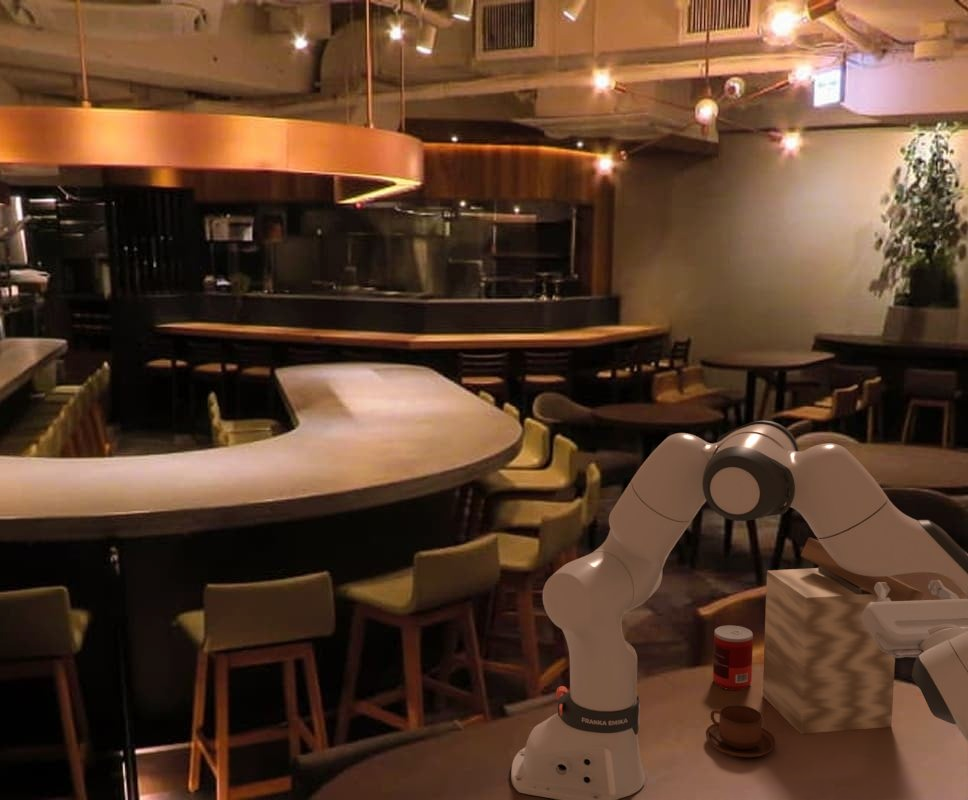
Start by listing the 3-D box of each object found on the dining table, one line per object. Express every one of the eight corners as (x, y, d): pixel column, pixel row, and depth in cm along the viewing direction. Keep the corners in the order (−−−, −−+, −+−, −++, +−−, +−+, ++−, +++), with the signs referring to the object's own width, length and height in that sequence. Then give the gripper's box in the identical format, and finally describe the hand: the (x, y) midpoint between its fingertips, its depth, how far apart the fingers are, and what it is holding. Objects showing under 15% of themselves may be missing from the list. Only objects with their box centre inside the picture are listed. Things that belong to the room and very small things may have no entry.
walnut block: (900, 608, 159) (910, 587, 158) (800, 555, 180) (808, 537, 179) (914, 613, 161) (924, 592, 160) (813, 560, 182) (822, 541, 181)
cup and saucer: (697, 754, 163) (698, 721, 162) (714, 725, 173) (715, 694, 172) (767, 770, 157) (768, 736, 156) (780, 739, 167) (781, 707, 167)
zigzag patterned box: (800, 733, 169) (806, 591, 166) (762, 695, 185) (767, 564, 181) (891, 726, 172) (898, 586, 168) (846, 689, 187) (852, 560, 184)
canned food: (755, 679, 192) (757, 629, 191) (744, 694, 186) (746, 642, 184) (720, 671, 196) (721, 622, 195) (707, 685, 190) (709, 634, 188)
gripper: (878, 670, 138) (840, 598, 149) (1001, 664, 141) (955, 594, 152) (893, 644, 134) (853, 572, 145) (1020, 638, 137) (971, 568, 148)
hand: (906, 583), depth 149 cm, fingers open, 8 cm apart
